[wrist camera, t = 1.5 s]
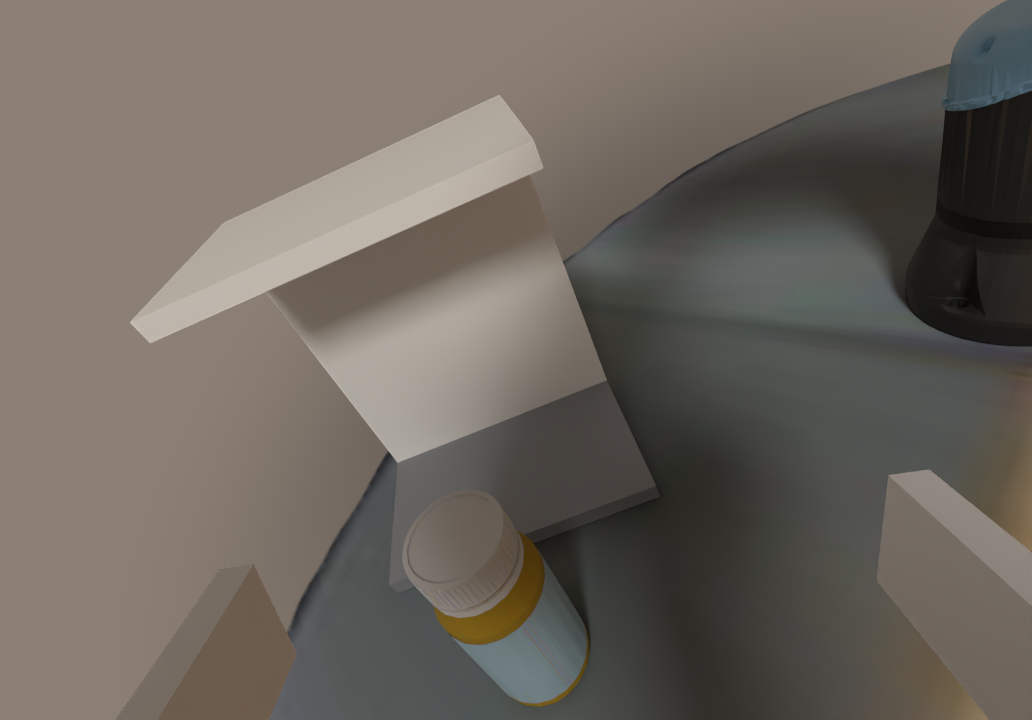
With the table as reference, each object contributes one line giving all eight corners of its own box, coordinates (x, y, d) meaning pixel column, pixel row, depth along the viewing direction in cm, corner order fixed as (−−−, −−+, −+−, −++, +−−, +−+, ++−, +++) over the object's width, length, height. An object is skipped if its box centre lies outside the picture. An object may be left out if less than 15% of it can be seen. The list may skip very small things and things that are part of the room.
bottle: (612, 646, 36) (536, 520, 28) (542, 736, 33) (435, 627, 25) (545, 587, 41) (464, 465, 33) (480, 660, 39) (374, 549, 30)
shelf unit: (404, 461, 59) (223, 222, 42) (606, 382, 57) (499, 94, 40) (397, 592, 46) (129, 322, 29) (660, 496, 43) (533, 140, 27)
